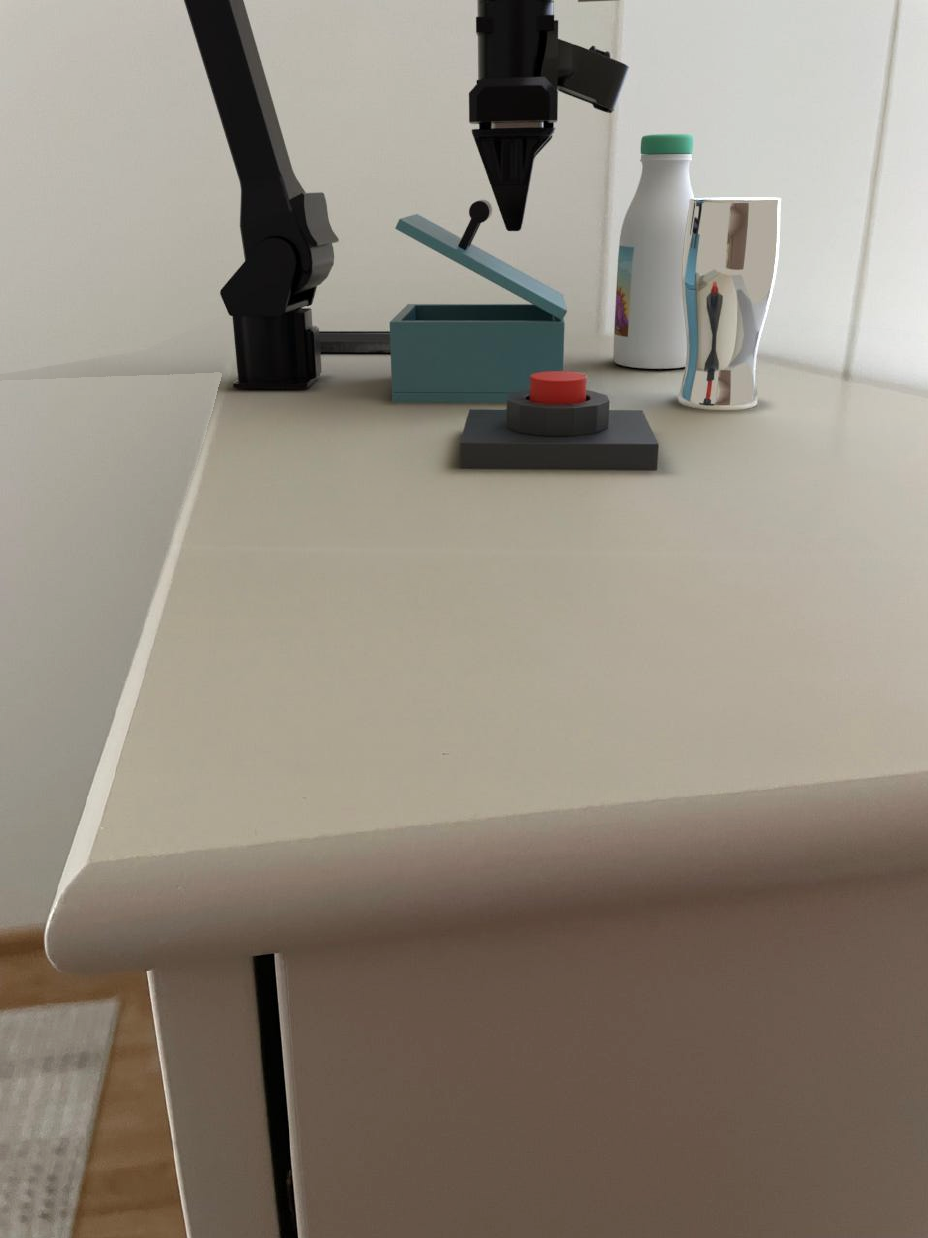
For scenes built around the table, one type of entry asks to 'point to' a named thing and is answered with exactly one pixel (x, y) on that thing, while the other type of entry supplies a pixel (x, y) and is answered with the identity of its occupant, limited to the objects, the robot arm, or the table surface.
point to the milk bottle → (654, 258)
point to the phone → (354, 341)
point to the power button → (558, 387)
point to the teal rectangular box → (471, 351)
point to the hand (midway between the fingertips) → (514, 228)
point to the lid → (482, 258)
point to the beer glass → (726, 297)
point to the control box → (558, 436)
